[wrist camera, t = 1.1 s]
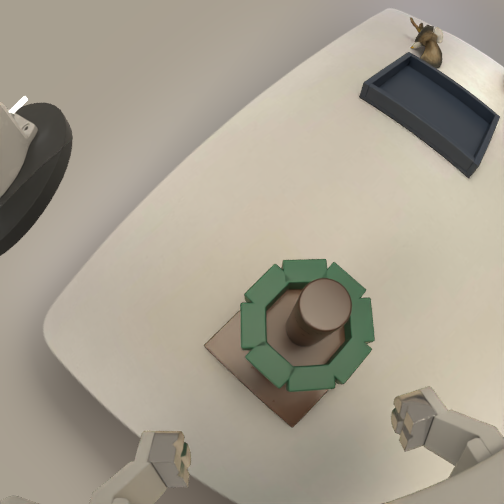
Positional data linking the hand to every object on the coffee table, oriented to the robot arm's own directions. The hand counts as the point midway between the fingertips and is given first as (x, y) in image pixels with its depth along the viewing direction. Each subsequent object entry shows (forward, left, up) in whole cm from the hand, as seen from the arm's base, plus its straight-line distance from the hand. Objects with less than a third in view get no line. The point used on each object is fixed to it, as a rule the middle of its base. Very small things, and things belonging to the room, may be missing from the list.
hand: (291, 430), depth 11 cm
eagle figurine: (-14, +54, -13) cm, 57 cm away
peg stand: (-2, +4, -13) cm, 14 cm away
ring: (-2, +4, -4) cm, 6 cm away
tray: (-6, +39, -13) cm, 42 cm away
